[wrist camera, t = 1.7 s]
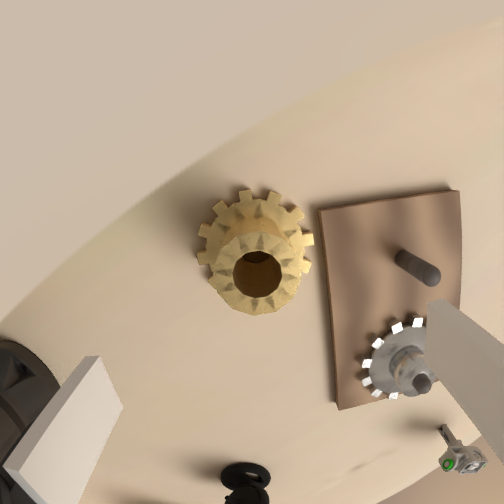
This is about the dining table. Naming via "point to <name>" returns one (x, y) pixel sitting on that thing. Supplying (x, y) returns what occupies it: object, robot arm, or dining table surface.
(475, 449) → the mechanical component
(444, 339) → the robot arm
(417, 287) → the gear board
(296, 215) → the brass gear
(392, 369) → the steel gear
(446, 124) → the dining table surface
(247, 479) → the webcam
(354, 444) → the dining table surface
